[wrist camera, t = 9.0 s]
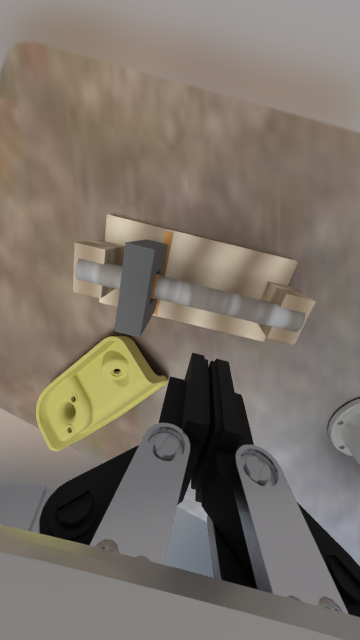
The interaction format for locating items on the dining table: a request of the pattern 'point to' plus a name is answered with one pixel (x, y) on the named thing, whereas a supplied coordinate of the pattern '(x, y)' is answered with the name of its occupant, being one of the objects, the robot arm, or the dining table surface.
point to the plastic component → (95, 391)
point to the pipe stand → (200, 282)
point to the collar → (138, 285)
